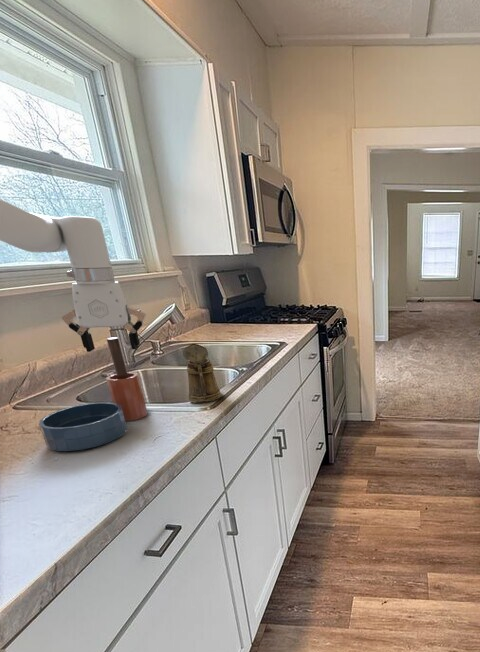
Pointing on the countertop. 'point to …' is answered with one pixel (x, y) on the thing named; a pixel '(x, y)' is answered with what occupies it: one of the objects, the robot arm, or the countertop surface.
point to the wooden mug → (200, 375)
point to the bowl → (83, 426)
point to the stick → (117, 358)
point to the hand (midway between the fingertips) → (113, 349)
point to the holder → (128, 395)
